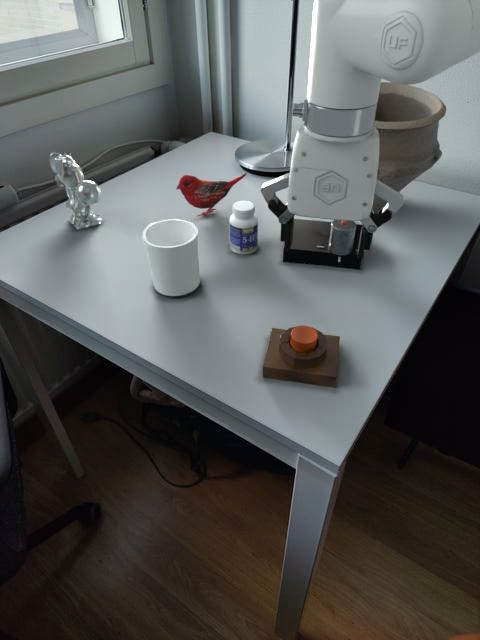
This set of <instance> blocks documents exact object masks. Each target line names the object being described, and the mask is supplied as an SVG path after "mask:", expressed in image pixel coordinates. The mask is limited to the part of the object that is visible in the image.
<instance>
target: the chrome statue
mask: <svg viewBox="0 0 480 640" xmlns="http://www.w3.org/2000/svg"><path fill="white" fill-rule="evenodd" d="M48 160H49V165H50V169H51V170H52V172H53V173H54V174H56V175H55V176H54V180H55V183H56V184H57V186H59V187H63V188H64V191H65V193H66V196H67V198H68V200H67V201H66V203H65V208H66V210H67V211H68V212H69V213H71V216H70V218H69V219H68V222H69V223H70V224H72V225H73V226H74V228H75V229H76V230H81V229H85V228H90V227H93V226H98V225H100V224H101V221H102V220H103V219H102V218H99V217H100V214H97V215H96V214H95V211H92V209H91V208H92V207H94V206H95V205H96V204H98V203H99V201H100V200H101V197H102V190H101V188H100V186H99V185H98V184H97V183H96V182H95V181H93V180H88V179H86V180H85V175H84V172H83V169H82V168H81V166H80V165H78V164H77V163H76V161H75V160H74V159H73V157H72V153H71V152H70V153H69V155H67V154H66V152H65V151H63V154H61V153H59V152H57V151H52V152H51V153H50V155H49V159H48ZM86 220H87V221H86ZM85 221H86V223H85Z"/></svg>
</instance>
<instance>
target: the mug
mask: <svg viewBox="0 0 480 640" xmlns="http://www.w3.org/2000/svg"><path fill="white" fill-rule="evenodd" d="M141 237H142V241H143V245H144V247H145V251H146V255H147V256H146V257H147V260H148V265H149V270H150V275H151V279H152V284H153V288H154V291H155V292H156V293H157V294H158V295H160V296H161V297H164V298H167V299H182V298H185V297H188V296H190V295H193V294H194V293H195V292H196V291H197V290H198V288H199V287H200V284H201V277H200V261H199V259H200V258H199V229H198V227H197V225H195V223H193V222H191V221H189V220H187V219H186V220H185V219H181V218H168V219H161V220H159V221H155V222H151V223H149V224H148V225H147V227H145V228H144V229H143V231H142V235H141Z"/></svg>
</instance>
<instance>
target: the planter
mask: <svg viewBox="0 0 480 640" xmlns="http://www.w3.org/2000/svg"><path fill="white" fill-rule="evenodd" d="M446 113H447V106H446V104H445V103H444V101H443V100H442V99H441V98H439V96H438V95H436V94H435V93H433V92H431V91H428V90H425V89H424V88H420V87H417V86H414V85H411V84H410V85H404V84H397V83H393V82H390V81H381V85H380V91H379V97H378V103H377V109H376V115H375V121H374V127H375V128H376V129H377V130H378V133H379V163H378V172H377V180H379V181H381V182H382V183H384V184H386V185H387V186H389V187H390V188H392V189H394V190H395V191H397V192H399V193H400V192H401V191H402V190H403V189H405V188H406V187H407V186H408V185H410V183H412V182H413V181H415V180H416V179H417V178H418V177H420V176H422V175H423V173H426V172H427V171H429V170H430V169H432V167H433V166H435V164H436V163H437V162H439V160H440V159H441V157H442V156H443V152H442V150H441V149H440V146H441V145H440V143H439V139H438V136H439V135H438V133H439V127H440V121H441V120H442V119H443V118H444V117H445V116H446ZM387 203H388V202H387V201H385V200H384V199H382V198H380V197H379V196H377V195H375V194H374V200H373V205H372V210H373V211H374V212H377V211H379V210H380V209H382V208H383V207H385V206H386V205H387Z"/></svg>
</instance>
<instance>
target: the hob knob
mask: <svg viewBox="0 0 480 640" xmlns="http://www.w3.org/2000/svg"><path fill="white" fill-rule="evenodd" d="M331 222H332V224H331V231H330V239H329V247H328V249H329V251H330V252H332V253H333V254H336V255H347V254H349V253H351V252H352V248H353V242H354V236H355V230H356V224H357V223H356V221H342V220H332V221H331Z"/></svg>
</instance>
